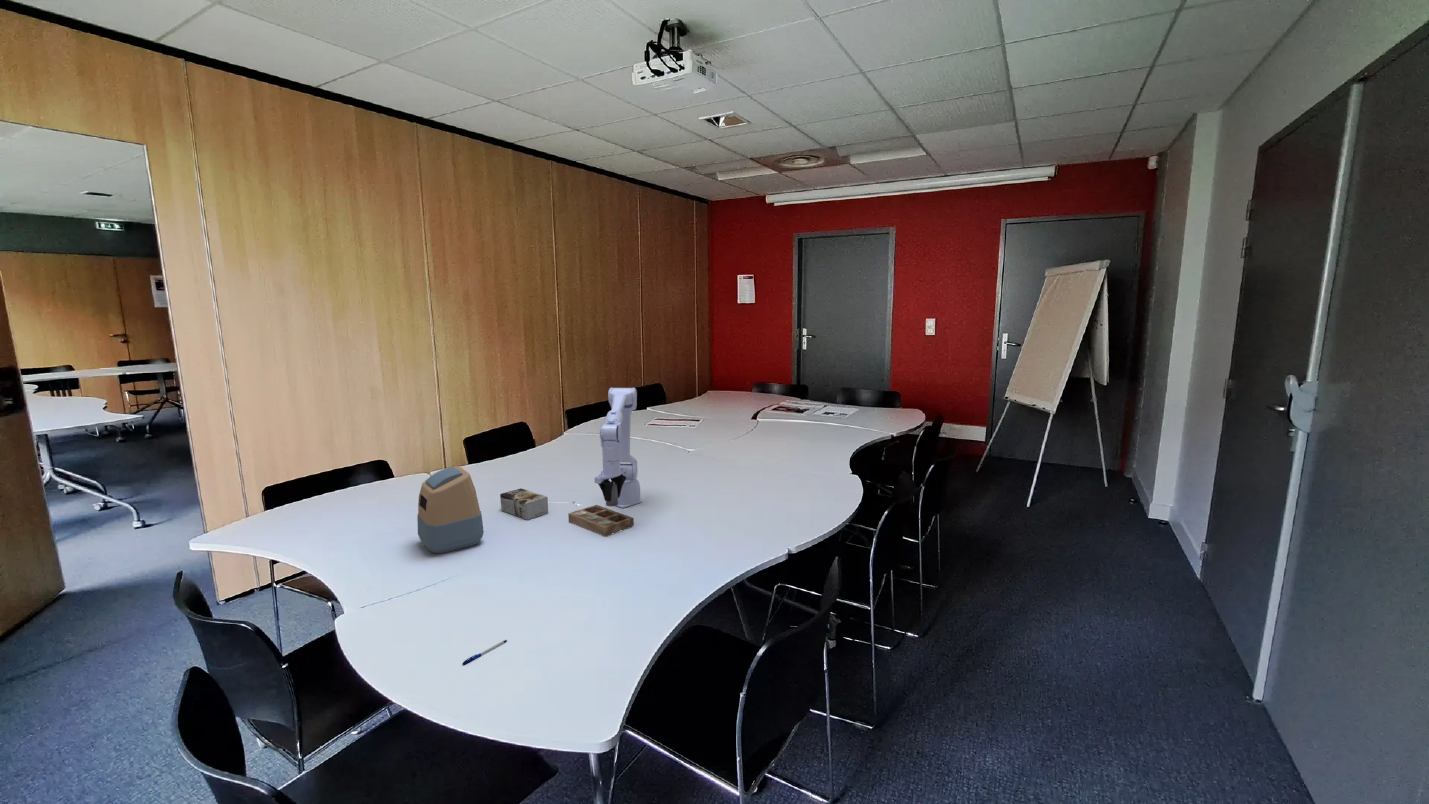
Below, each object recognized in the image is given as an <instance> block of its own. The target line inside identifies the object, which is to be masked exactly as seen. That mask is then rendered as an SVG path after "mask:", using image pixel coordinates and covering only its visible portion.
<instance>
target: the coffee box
mask: <svg viewBox="0 0 1429 804" xmlns="http://www.w3.org/2000/svg"><path fill="white" fill-rule="evenodd" d="M499 500H500V509H501V511H503V512H504V513H508V514H510V515H514V516H516V517H518V518H521V519H523V520H526V521H528V520H532V519H535V518H537V517H540V516H544V515H546V514H548V513H549V500H548V496H547V495H545V494H544V495H543V494H541V493H538V492H533V491H531V490H527V489H524V488H518V489H513V490H509V491H506V492H503V493H500V499H499Z"/></svg>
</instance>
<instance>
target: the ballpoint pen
mask: <svg viewBox="0 0 1429 804" xmlns="http://www.w3.org/2000/svg"><path fill="white" fill-rule="evenodd" d="M507 642H508V640H507V639H505V640H502V641H501V642H498V643H497V644H495V645H493V646H491V647H489V648H487V649H486V650H484V651H481V652H480V653H478V654H476V653H475V654H474V655H471V656H469V657H468V658H466V659H465V660H464V661H463V662H462V666H465V665H467V664H469V663H471V662H473V661H475V660H477V659H479V658H480V657H483V656H484V655H486V654H488V653H489V652H491V651H493V650H495V649H496V648H498V647H500V646H502V645H504V644H505V643H507Z"/></svg>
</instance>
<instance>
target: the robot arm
mask: <svg viewBox="0 0 1429 804" xmlns="http://www.w3.org/2000/svg"><path fill="white" fill-rule="evenodd" d="M607 393H608V395H607V399H608V403H609V405H610V408H611V410H609V411H608V412H607V414H606V418H605V421H604V424H603V425H600V428H599V440H600V446H601V448H602V449H601V450H602V451H601V452H602V453H601V454H602V471H600V474H598V475H597V476H594V483H595V484H598V486H599V488H600V490H601V493H602V495H603V498H604V501H605V502H606V501H611V491H612V486H613V484H614V482H615V483H617V492H618V505H616V506H615V507H619V508H622V509H625V508H628V507H631V506H634V505H636V504H640V503H642V502H643V501H642V500H641V484H640V481H639V480H638V472H639V471H638V461H637V459H636V458H635V457H634V456H632V455H631V416H632V412H633V411H635V410H637V405H638V403H637V402H638V401H637V400H638V398H637V397H638V391H637V389H636V388H635V387H610V388H609V389H608V392H607Z"/></svg>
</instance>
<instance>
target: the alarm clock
mask: <svg viewBox="0 0 1429 804" xmlns="http://www.w3.org/2000/svg"><path fill="white" fill-rule="evenodd" d="M479 504H480V503H479V499H478V495H477V491H476V487H475V485H474V482H473V480H472V477H471V474H470V473H469V472H468V471H467V470H465V469H463V468H462V467H461V466H458V465H455V466H450V467H446V468H443V469H442V470H439V471H437V472H434V473H433V474H432V475H431V476H429V477H428V478H427V479H425V480H424V481H423V482H422V483H421V487H420V490H419V495H418V505H417V509H418V510H417V515H416V517H417V535H418V538H419V540H420V542H422V544H423V545H424V546H425V547H426V548H427V550H428V551H430V553H434V554H444V553H445V552H446V553H450V552H453V551H457V549H458V550H460V549H461V548H462V549H465V548H469V546H470V547H473V546H474V545H476V544H477V543H479V542H480V541H481V540H482V539H483V536H484V532H485V531H484V525H483V517H482V516H483V514H482V511H481V508H480V505H479ZM462 549H461V550H462ZM449 551H450V552H449Z"/></svg>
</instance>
